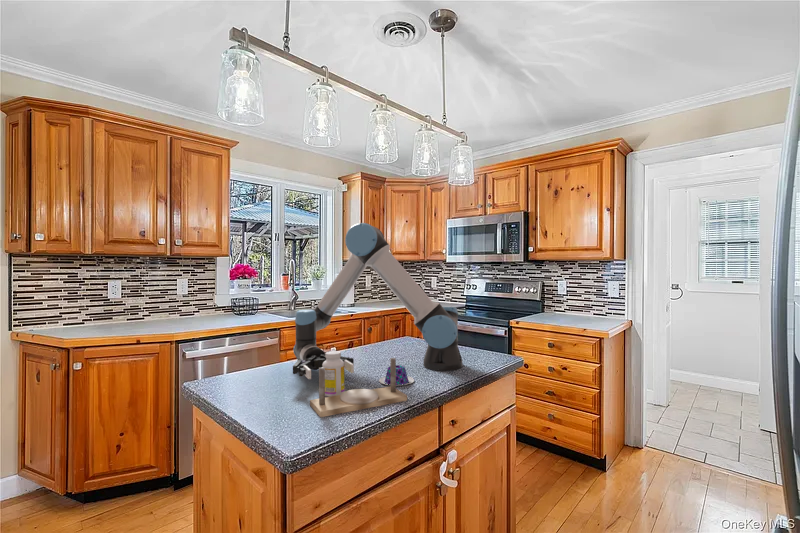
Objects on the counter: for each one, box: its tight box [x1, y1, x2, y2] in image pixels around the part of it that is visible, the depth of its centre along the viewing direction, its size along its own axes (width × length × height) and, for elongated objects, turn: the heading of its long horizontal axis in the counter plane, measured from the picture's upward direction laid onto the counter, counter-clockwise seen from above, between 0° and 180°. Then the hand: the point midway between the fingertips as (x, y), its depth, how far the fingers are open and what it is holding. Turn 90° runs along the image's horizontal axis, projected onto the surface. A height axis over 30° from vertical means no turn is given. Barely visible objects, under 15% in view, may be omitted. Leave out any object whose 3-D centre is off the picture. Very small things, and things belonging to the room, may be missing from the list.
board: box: [309, 357, 408, 418], centre depth 114 cm, size 26×11×12 cm, turn 118°
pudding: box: [378, 364, 415, 387], centre depth 135 cm, size 12×12×5 cm
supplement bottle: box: [322, 350, 346, 397], centre depth 122 cm, size 7×7×13 cm
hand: (331, 371), depth 122 cm, fingers open, 13 cm apart
